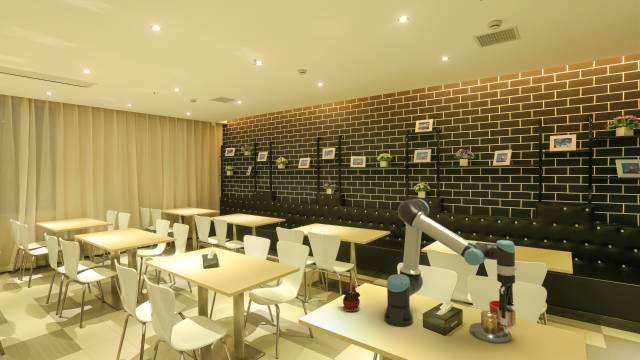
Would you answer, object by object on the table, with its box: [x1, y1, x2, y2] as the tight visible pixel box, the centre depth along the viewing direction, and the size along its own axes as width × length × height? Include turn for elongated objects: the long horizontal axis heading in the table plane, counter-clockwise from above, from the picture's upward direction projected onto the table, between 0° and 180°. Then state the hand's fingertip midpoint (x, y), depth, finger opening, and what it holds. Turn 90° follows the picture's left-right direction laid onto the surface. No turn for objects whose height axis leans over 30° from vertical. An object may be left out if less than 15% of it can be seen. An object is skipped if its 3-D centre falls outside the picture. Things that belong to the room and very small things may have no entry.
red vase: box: [342, 278, 361, 312], centre depth 193 cm, size 11×9×18 cm
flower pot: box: [488, 300, 506, 327], centre depth 174 cm, size 11×11×10 cm
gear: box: [498, 307, 517, 327], centre depth 157 cm, size 7×7×6 cm
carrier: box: [469, 309, 512, 344], centre depth 163 cm, size 18×20×8 cm
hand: (506, 321), depth 157 cm, fingers closed on gear, 7 cm apart
